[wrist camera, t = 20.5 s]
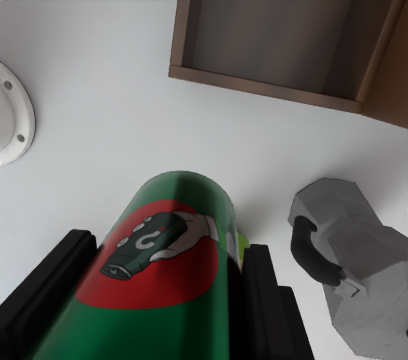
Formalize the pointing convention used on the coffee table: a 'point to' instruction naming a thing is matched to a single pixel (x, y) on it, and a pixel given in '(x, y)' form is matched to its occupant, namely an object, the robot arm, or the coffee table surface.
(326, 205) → the coffeepot
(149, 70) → the coffee table surface
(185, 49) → the chest
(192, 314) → the soda can
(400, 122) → the lid
